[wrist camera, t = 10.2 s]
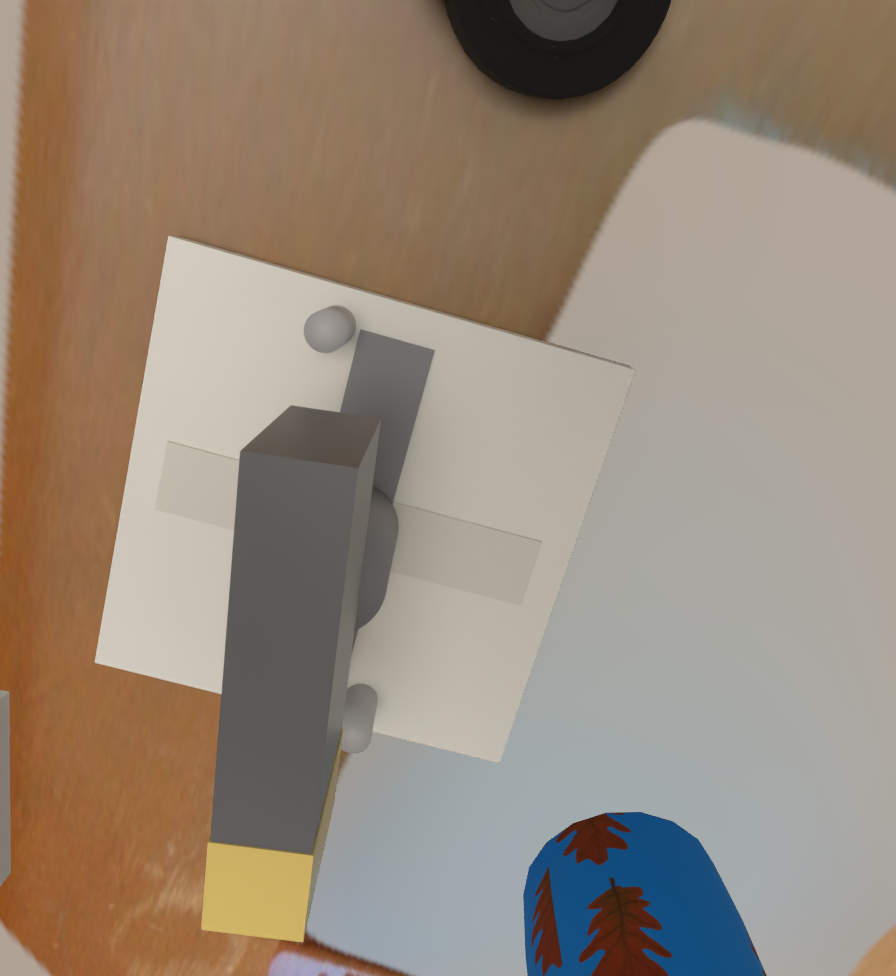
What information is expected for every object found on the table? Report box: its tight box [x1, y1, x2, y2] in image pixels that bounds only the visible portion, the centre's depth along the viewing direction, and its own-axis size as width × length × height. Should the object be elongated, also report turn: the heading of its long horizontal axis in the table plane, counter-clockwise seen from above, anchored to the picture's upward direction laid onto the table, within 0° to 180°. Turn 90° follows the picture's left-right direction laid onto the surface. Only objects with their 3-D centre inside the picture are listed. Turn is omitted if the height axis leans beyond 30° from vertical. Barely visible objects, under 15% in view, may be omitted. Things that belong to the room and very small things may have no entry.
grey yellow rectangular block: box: [201, 405, 381, 942], centre depth 25 cm, size 14×3×9 cm, turn 172°
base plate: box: [95, 236, 636, 763], centre depth 33 cm, size 20×20×8 cm
